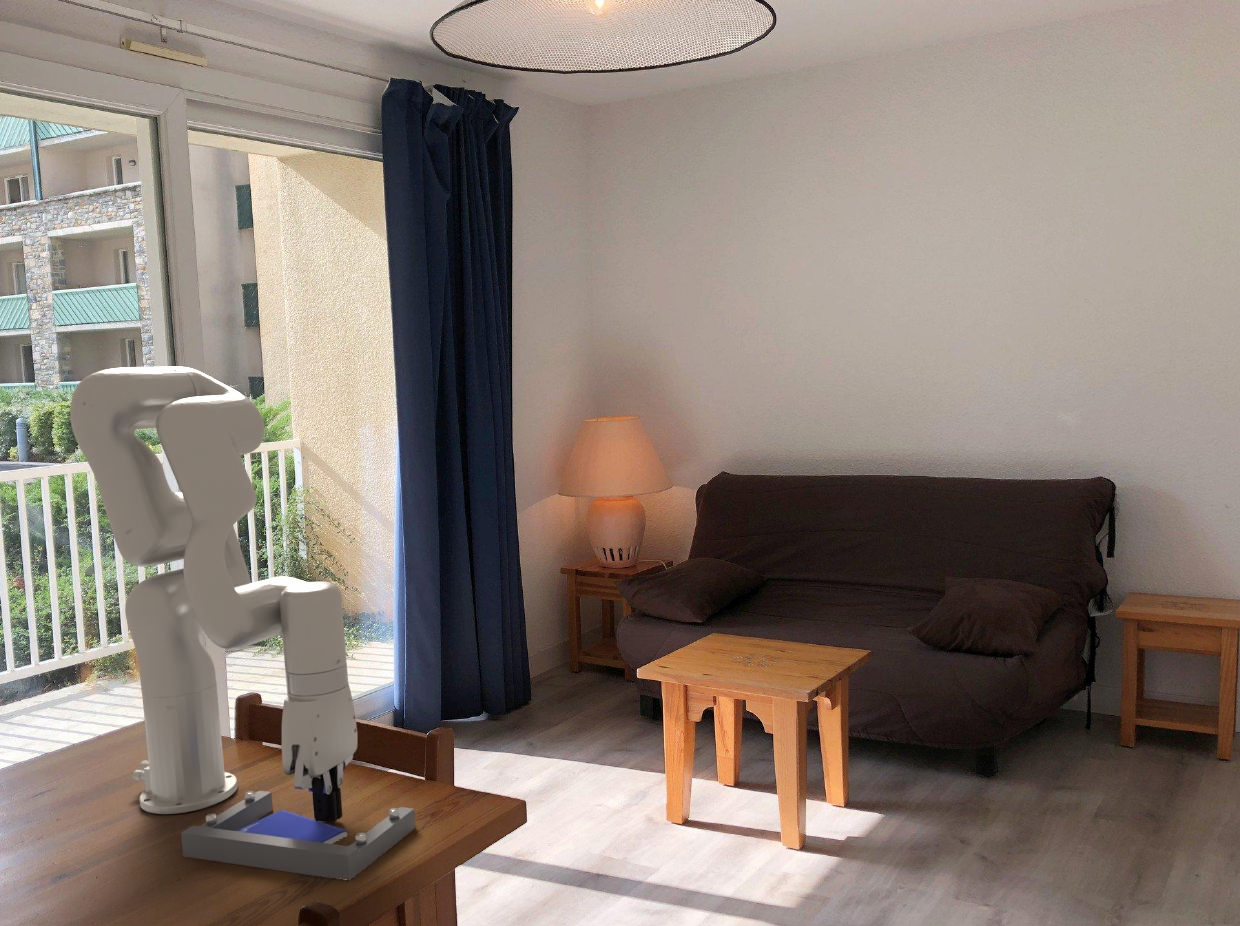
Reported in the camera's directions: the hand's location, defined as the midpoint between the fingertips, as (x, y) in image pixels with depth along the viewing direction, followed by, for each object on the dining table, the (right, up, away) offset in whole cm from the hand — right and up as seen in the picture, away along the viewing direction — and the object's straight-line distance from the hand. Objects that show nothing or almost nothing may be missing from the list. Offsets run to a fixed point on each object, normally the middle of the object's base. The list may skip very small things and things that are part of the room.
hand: (328, 818), depth 133 cm
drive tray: (-2, -1, -5) cm, 6 cm away
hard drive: (-4, -2, -4) cm, 6 cm away
